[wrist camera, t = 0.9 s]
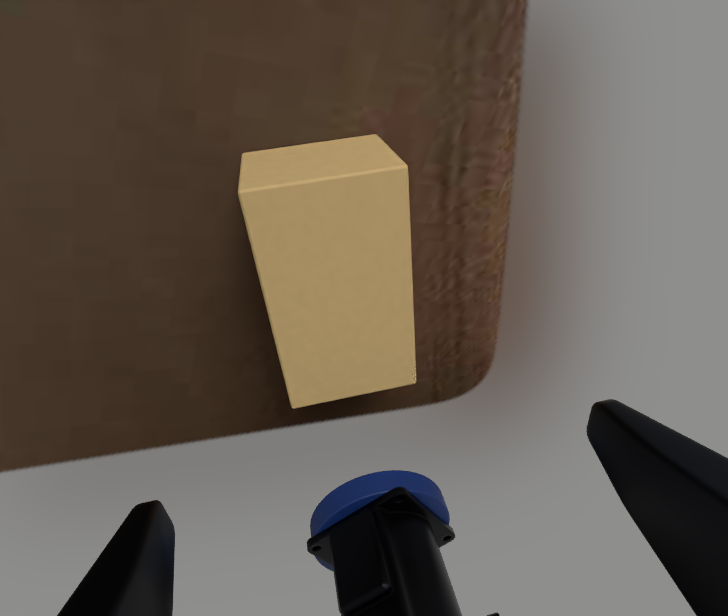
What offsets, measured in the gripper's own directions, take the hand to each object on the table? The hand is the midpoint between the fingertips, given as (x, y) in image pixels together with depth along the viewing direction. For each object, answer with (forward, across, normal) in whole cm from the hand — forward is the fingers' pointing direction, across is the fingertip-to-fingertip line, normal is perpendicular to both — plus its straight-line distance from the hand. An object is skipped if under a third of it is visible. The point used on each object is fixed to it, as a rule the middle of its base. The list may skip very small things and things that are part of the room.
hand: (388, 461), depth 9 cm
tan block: (+10, 0, 0) cm, 10 cm away
